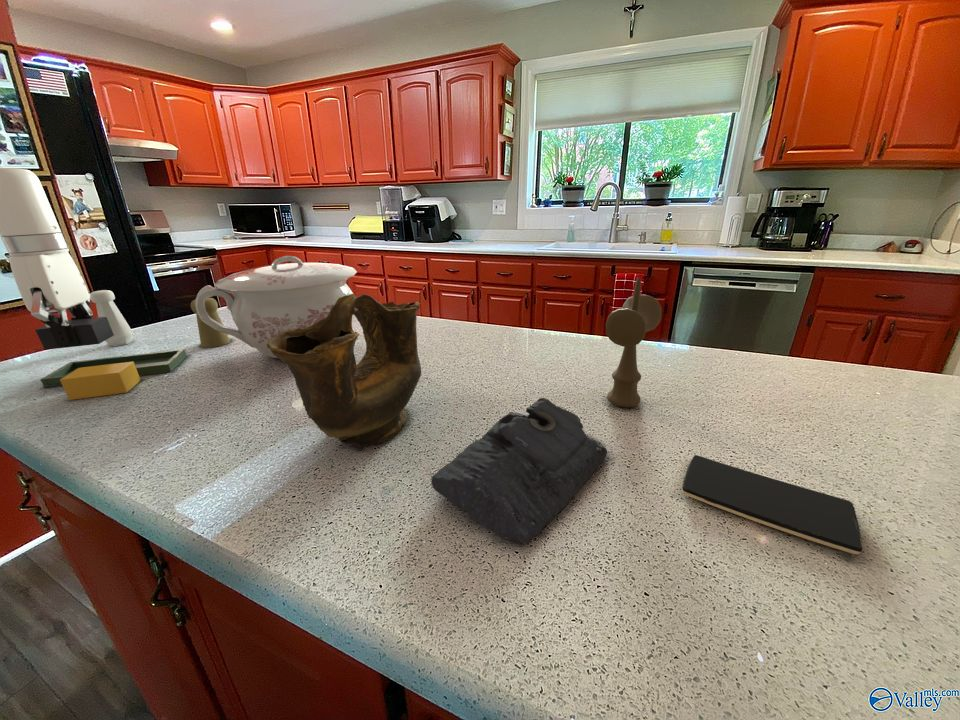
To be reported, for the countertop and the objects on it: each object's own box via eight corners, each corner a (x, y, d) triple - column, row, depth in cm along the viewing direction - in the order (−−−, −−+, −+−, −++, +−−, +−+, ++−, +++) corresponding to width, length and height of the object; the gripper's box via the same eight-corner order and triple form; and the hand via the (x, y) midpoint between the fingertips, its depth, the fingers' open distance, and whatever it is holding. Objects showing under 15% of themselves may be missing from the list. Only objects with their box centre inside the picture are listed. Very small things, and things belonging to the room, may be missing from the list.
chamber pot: (383, 329, 101) (372, 246, 93) (336, 374, 76) (316, 266, 68) (280, 329, 104) (261, 248, 96) (203, 372, 79) (168, 267, 71)
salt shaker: (113, 340, 99) (92, 289, 94) (140, 338, 101) (121, 287, 96) (100, 348, 94) (77, 294, 89) (129, 345, 96) (108, 292, 91)
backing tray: (44, 387, 74) (39, 379, 74) (73, 369, 82) (70, 361, 82) (170, 371, 80) (168, 364, 79) (187, 356, 88) (184, 349, 87)
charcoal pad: (44, 350, 74) (34, 329, 72) (63, 340, 79) (54, 321, 77) (99, 344, 76) (90, 324, 74) (114, 335, 81) (106, 316, 79)
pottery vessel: (348, 490, 46) (316, 327, 38) (276, 471, 49) (234, 318, 42) (441, 394, 67) (433, 278, 60) (387, 386, 71) (372, 275, 63)
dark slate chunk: (411, 491, 45) (407, 457, 44) (518, 413, 61) (518, 385, 59) (523, 560, 36) (524, 521, 35) (615, 448, 52) (618, 416, 50)
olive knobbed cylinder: (197, 348, 92) (182, 302, 88) (206, 340, 97) (192, 296, 93) (225, 345, 93) (212, 300, 89) (233, 337, 99) (221, 294, 95)
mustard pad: (69, 400, 69) (59, 379, 68) (87, 387, 74) (78, 367, 73) (127, 392, 71) (118, 372, 70) (141, 380, 76) (133, 361, 75)
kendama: (650, 394, 65) (669, 273, 58) (634, 420, 58) (653, 285, 50) (613, 386, 69) (627, 270, 61) (594, 409, 61) (606, 281, 54)
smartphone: (692, 453, 48) (855, 501, 40) (691, 461, 49) (851, 510, 41) (680, 487, 43) (865, 551, 35) (678, 495, 43) (861, 561, 35)
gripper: (43, 242, 77) (83, 330, 84) (-32, 252, 62) (24, 359, 69) (90, 239, 79) (125, 326, 86) (28, 249, 64) (77, 353, 71)
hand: (79, 340), depth 77 cm, fingers closed on charcoal pad, 5 cm apart
